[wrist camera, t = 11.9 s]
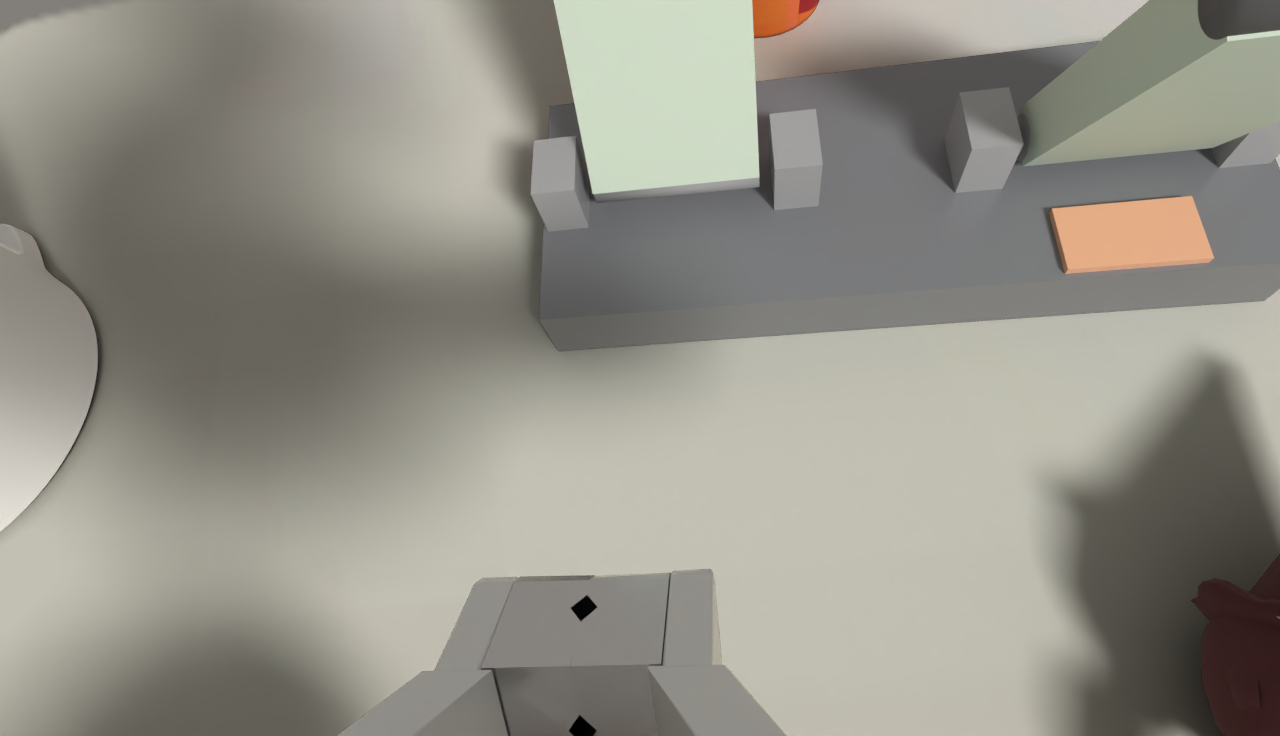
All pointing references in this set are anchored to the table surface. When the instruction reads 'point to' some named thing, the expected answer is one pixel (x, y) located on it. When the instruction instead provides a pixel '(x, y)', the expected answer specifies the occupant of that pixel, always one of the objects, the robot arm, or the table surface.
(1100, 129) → the lever
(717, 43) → the lever
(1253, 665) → the icecream
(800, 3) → the paper cup
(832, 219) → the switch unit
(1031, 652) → the table surface
